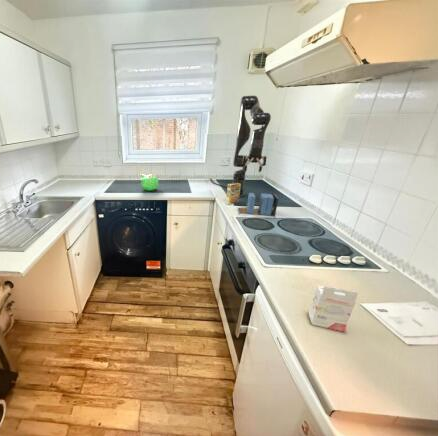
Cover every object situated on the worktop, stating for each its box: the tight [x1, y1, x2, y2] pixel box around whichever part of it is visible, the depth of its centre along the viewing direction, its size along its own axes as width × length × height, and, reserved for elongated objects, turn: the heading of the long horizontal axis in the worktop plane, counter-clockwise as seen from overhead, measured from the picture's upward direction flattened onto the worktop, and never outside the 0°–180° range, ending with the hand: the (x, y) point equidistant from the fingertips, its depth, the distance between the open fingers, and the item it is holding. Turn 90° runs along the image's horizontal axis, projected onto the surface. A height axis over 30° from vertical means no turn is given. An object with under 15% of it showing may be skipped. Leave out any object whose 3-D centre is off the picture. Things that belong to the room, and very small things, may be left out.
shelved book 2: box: [265, 193, 274, 215], centre depth 158 cm, size 9×3×12 cm, turn 165°
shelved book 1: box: [257, 193, 268, 216], centre depth 159 cm, size 9×3×12 cm, turn 165°
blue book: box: [245, 192, 256, 215], centre depth 161 cm, size 3×9×12 cm, turn 165°
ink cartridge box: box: [308, 285, 359, 332], centre depth 72 cm, size 9×5×15 cm, turn 69°
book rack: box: [237, 193, 279, 218], centre depth 160 cm, size 12×22×13 cm, turn 75°
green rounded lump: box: [139, 173, 160, 192], centre depth 215 cm, size 18×17×15 cm
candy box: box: [225, 183, 241, 205], centre depth 179 cm, size 9×4×15 cm, turn 107°
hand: (252, 171), depth 159 cm, fingers open, 8 cm apart
